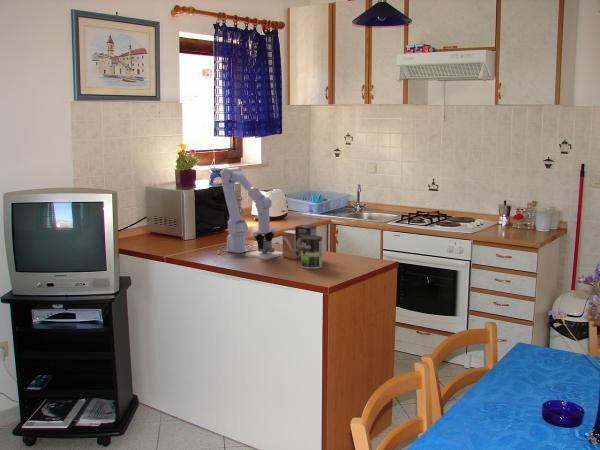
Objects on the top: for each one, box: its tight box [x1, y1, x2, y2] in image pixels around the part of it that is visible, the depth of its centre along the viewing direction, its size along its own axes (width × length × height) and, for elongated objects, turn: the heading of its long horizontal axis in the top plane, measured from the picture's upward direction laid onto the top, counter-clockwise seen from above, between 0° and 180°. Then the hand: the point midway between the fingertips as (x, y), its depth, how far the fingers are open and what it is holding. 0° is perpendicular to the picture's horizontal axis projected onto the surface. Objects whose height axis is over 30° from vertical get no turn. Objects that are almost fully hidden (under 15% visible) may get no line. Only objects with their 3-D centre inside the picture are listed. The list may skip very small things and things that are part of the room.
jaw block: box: [257, 239, 275, 253], centre depth 351 cm, size 8×5×5 cm, turn 50°
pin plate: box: [244, 250, 283, 260], centre depth 352 cm, size 14×14×5 cm
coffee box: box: [294, 224, 317, 260], centre depth 343 cm, size 9×6×16 cm
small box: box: [282, 229, 297, 260], centre depth 347 cm, size 8×6×13 cm
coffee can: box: [300, 234, 323, 270], centre depth 326 cm, size 10×10×14 cm
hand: (264, 247), depth 352 cm, fingers closed on jaw block, 5 cm apart
